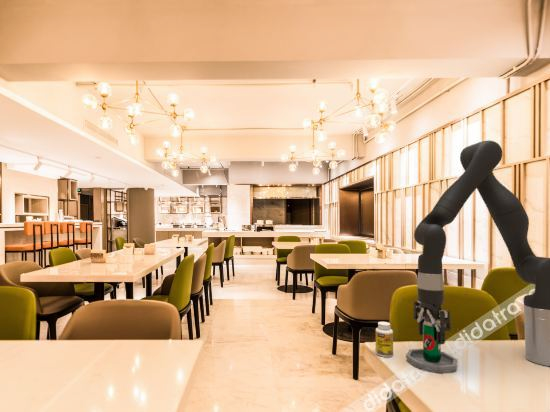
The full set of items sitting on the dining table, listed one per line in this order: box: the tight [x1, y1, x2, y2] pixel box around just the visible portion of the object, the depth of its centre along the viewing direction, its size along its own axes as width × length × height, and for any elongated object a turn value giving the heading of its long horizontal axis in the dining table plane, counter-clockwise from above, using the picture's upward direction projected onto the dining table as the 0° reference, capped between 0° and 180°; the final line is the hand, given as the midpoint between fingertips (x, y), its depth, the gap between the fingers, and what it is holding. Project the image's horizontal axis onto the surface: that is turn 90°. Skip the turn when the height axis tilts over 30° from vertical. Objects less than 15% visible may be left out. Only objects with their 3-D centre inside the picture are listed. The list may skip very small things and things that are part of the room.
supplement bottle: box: [375, 321, 394, 358], centre depth 110 cm, size 6×6×10 cm
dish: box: [405, 348, 459, 374], centre depth 103 cm, size 14×14×2 cm
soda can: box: [422, 319, 442, 363], centre depth 103 cm, size 5×5×12 cm
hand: (431, 339), depth 103 cm, fingers open, 8 cm apart
